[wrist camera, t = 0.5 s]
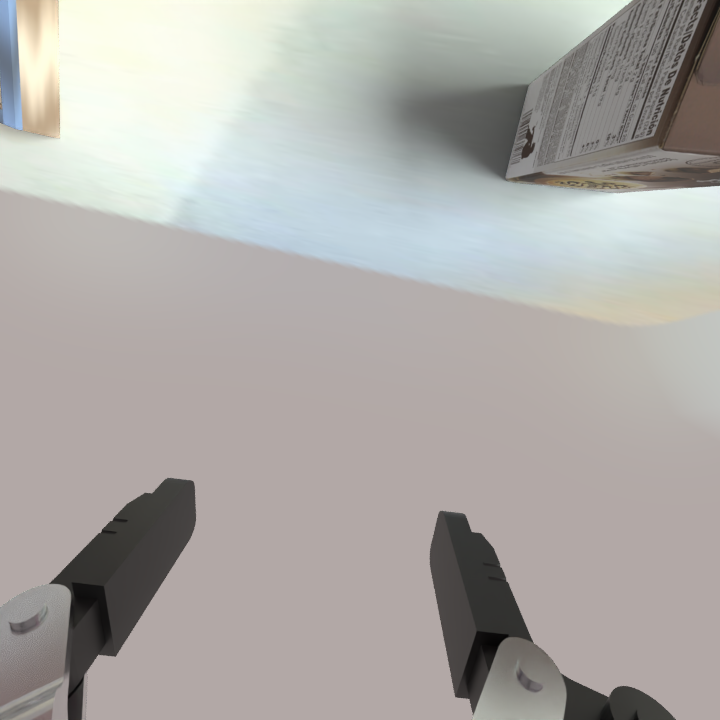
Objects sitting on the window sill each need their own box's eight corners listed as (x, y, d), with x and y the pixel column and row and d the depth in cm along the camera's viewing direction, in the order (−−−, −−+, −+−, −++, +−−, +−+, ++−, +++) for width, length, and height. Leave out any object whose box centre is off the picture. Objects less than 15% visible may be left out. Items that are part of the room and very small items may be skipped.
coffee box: (655, 93, 23) (1129, -100, 9) (616, 195, 26) (927, 179, 11) (526, 79, 23) (781, -137, 9) (501, 183, 26) (663, 151, 11)
